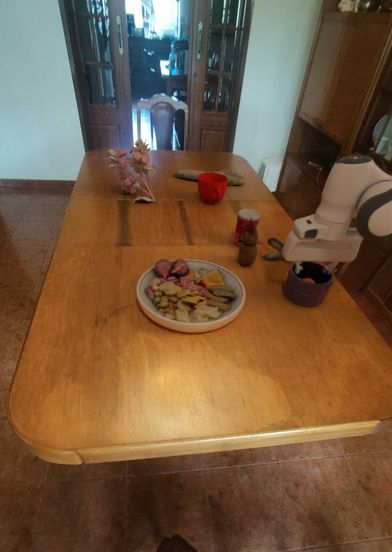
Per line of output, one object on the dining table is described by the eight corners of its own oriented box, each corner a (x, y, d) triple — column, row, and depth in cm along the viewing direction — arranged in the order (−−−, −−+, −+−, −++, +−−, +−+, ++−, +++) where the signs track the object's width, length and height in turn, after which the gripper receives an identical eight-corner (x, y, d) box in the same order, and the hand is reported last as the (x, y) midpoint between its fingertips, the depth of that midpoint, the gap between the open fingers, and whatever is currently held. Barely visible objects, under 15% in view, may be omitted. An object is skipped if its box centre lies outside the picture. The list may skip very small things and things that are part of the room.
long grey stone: (178, 175, 165) (173, 183, 159) (177, 164, 161) (173, 171, 155) (245, 180, 161) (243, 188, 155) (246, 169, 157) (245, 176, 151)
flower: (169, 185, 147) (143, 125, 131) (173, 200, 130) (144, 133, 114) (131, 204, 150) (101, 149, 134) (131, 221, 134) (96, 159, 117)
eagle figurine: (288, 249, 114) (264, 242, 113) (297, 239, 107) (272, 231, 106) (284, 268, 112) (260, 261, 111) (293, 260, 105) (268, 252, 104)
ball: (309, 288, 99) (314, 274, 95) (314, 298, 95) (320, 284, 92) (293, 288, 98) (298, 274, 95) (298, 298, 95) (303, 284, 91)
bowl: (263, 305, 92) (269, 283, 86) (189, 357, 76) (191, 333, 71) (191, 262, 105) (192, 240, 100) (115, 298, 90) (112, 275, 84)
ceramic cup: (202, 212, 133) (204, 187, 126) (193, 196, 144) (194, 172, 137) (231, 211, 136) (235, 186, 129) (220, 195, 147) (223, 172, 140)
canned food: (237, 249, 114) (242, 219, 106) (230, 238, 119) (235, 208, 111) (257, 248, 115) (263, 218, 107) (250, 237, 120) (256, 208, 112)
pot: (316, 282, 102) (325, 260, 96) (330, 307, 93) (341, 285, 88) (278, 282, 101) (285, 260, 95) (289, 307, 92) (297, 284, 86)
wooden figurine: (236, 257, 109) (243, 214, 99) (252, 259, 110) (262, 216, 99) (237, 268, 105) (245, 224, 94) (254, 269, 105) (264, 226, 94)
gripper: (362, 222, 85) (341, 267, 95) (288, 220, 83) (275, 266, 93) (372, 233, 80) (350, 279, 90) (295, 231, 78) (280, 279, 88)
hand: (311, 273), depth 92 cm, fingers open, 7 cm apart
